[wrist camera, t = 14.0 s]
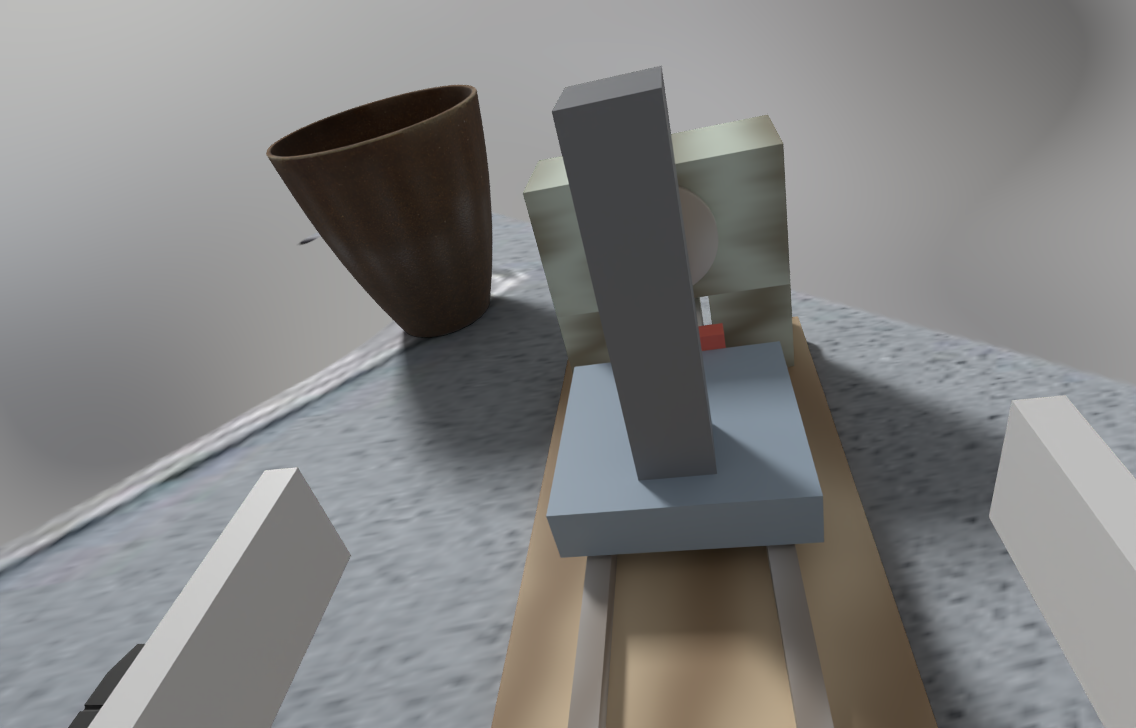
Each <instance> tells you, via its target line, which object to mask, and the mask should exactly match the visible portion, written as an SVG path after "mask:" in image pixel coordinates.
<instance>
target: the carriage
mask: <svg viewBox="0 0 1136 728" xmlns="http://www.w3.org/2000/svg"><path fill="white" fill-rule="evenodd" d="M552 114H553V118H554V122H555V127H556V131H557V136H558V140H559V144H560V148H561V153H562V157H563V161H564V165H565V170H566V174H567V178H568V183H569V187H570V191H571V195H572V200H573V204H574V208H575V212H576V217H577V221H578V225H579V230H580V234H581V238H582V242H583V247H584V251H585V255H586V259H587V264H588V268H589V272H590V276H591V281H592V285H593V289H594V294H595V298H596V302H597V306H598V311H599V315H600V319H601V323H602V328H603V332H604V336H605V341H606V345H607V349H608V353H609V358H610V363H602V364H594V365H586V366H578V367H574V372H573V378H572V383H571V388H570V393H569V399H568V404H567V409H566V414H565V420H564V425H563V430H562V435H561V441H560V446H559V451H558V456H557V462H556V467H555V472H554V477H553V483H552V488H551V493H550V498H549V504H548V509H547V514H546V517H547V520H548V523H549V526H550V529H551V532H552V534H553V537H554V540H555V543H556V546H557V549H558V551H559V554H560V557H561V558H564V557H581V556H599V555H616V554H633V553H650V552H667V551H684V550H701V549H718V548H735V547H752V546H769V545H786V544H803V543H820V542H824V517H823V494H822V491H821V487H820V483H819V480H818V476H817V473H816V469H815V465H814V462H813V458H812V455H811V451H810V448H809V444H808V440H807V437H806V433H805V430H804V426H803V422H802V419H801V415H800V412H799V408H798V405H797V401H796V397H795V394H794V390H793V387H792V383H791V379H790V376H789V372H788V369H787V365H786V361H785V358H784V354H783V351H782V347H781V344H780V341H777V342H769V343H761V344H753V345H745V346H737V347H729V348H721V349H713V350H706V351H702V349H701V342H700V335H699V328H698V321H697V314H696V307H695V300H694V293H693V285H692V278H691V271H690V264H689V257H688V250H687V243H686V236H685V229H684V222H683V215H682V208H681V201H680V194H679V186H678V179H677V172H676V165H675V158H674V151H673V144H672V137H671V130H670V123H669V116H668V109H667V102H666V96H665V87H664V80H663V74H662V67H661V66H659V67H654V68H650V69H645V70H641V71H636V72H632V73H628V74H623V75H618V76H614V77H610V78H605V79H601V80H596V81H592V82H587V83H583V84H578V85H574V86H569V87H566V88H564V90H563V92H562V94H561V96H560V98H559V100H558V101H557V103H556V105H555V107H554V108H553V110H552Z"/></svg>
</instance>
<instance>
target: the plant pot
mask: <svg viewBox="0 0 1136 728" xmlns="http://www.w3.org/2000/svg"><path fill="white" fill-rule="evenodd" d="M266 154H267V156H268V158H269V160H270V161H271V163H272V164H273V166H274V167H275V169H276V171H277V172H278V174H279V175H280V177H281V178H282V180H283V181H284V183H285V184H286V186H287V187H288V189H289V190H290V192H291V193H292V195H293V196H294V198H295V199H296V201H297V202H298V204H299V205H300V207H301V208H302V210H303V211H304V213H305V214H306V216H307V217H308V219H309V220H310V221H311V223H312V224H313V225H314V227H315V228H316V230H317V231H318V233H319V234H320V235H321V237H322V238H323V239H324V240H325V242H326V243H327V244H328V246H329V247H330V248H331V249H332V251H333V252H334V253H335V255H336V256H337V257H338V259H339V260H340V261H341V262H342V264H343V265H344V266H345V267H346V268H347V270H348V271H349V272H350V273H351V274H352V276H353V277H354V278H355V279H356V280H357V282H358V283H359V284H360V285H361V286H362V287H363V288H364V289H365V291H367V293H368V294H369V295H370V296H371V297H372V298H373V299H374V300H375V302H376V303H377V304H378V305H379V306H380V307H381V308H382V309H383V310H384V311H385V312H386V313H387V314H388V315H389V316H390V317H391V318H392V319H393V320H394V321H395V322H396V323H397V324H398V325H399V326H400V327H401V328H402V329H403V330H404V331H405V332H407V333H408V334H410V335H412V336H416V337H436V336H442V335H446V334H449V333H452V332H455V331H457V330H460V329H462V328H464V327H466V326H468V325H469V324H471V323H473V322H474V321H476V320H477V319H478V318H480V317H481V316H482V315H483V314H484V312H485V311H486V310H487V308H488V306H489V303H490V291H491V277H492V213H491V198H490V183H489V171H488V163H487V154H486V146H485V139H484V132H483V126H482V119H481V114H480V108H479V101H478V95H477V90H476V89H475V88H474V87H472V86H469V85H449V86H440V87H434V88H428V89H423V90H418V91H414V92H409V93H405V94H401V95H397V96H393V97H390V98H386V99H382V100H379V101H375V102H372V103H368V104H365V105H362V106H359V107H355V108H352V109H350V110H347V111H344V112H341V113H338V114H335V115H332V116H330V117H327V118H324V119H322V120H319V121H317V122H314V123H312V124H310V125H307V126H306V127H303V128H301V129H299V130H297V131H295V132H293V133H290V134H289V135H287V136H285V137H283V138H281V139H280V140H278V141H277V142H275V143H274V144H273V145H271V146H270V147H269V148H268V150H267V153H266Z"/></svg>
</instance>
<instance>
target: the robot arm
mask: <svg viewBox="0 0 1136 728" xmlns="http://www.w3.org/2000/svg"><path fill="white" fill-rule="evenodd" d="M989 518H990V520H991V522H992V523H993V525H994V527H995V529H996V531H997V532H998V534H999V536H1000V538H1001V540H1002V542H1003V543H1004V545H1005V547H1006V549H1007V551H1008V553H1009V554H1010V556H1011V558H1012V560H1013V562H1014V563H1015V565H1016V567H1017V569H1018V571H1019V573H1020V574H1021V576H1022V578H1023V580H1024V582H1025V583H1026V585H1027V587H1028V589H1029V591H1030V593H1031V594H1032V596H1033V598H1034V600H1035V602H1036V604H1037V605H1038V607H1039V609H1040V611H1041V613H1042V614H1043V616H1044V618H1045V620H1046V622H1047V624H1048V625H1049V627H1050V629H1051V631H1052V633H1053V634H1054V636H1055V638H1056V640H1057V642H1058V644H1059V645H1060V647H1061V649H1062V651H1063V653H1064V655H1065V656H1066V658H1067V660H1068V662H1069V664H1070V665H1071V667H1072V669H1073V671H1074V673H1075V675H1076V676H1077V678H1078V680H1079V682H1080V684H1081V685H1082V687H1083V689H1084V691H1085V693H1086V695H1087V696H1088V698H1089V700H1090V702H1091V704H1092V706H1093V707H1094V709H1095V711H1096V713H1097V715H1098V716H1099V718H1100V720H1101V722H1102V724H1103V726H1104V727H1105V728H1136V479H1135V478H1134V476H1133V475H1132V474H1131V473H1130V472H1129V470H1128V469H1127V468H1126V467H1125V466H1124V465H1123V463H1122V462H1121V461H1120V460H1119V459H1118V457H1117V456H1116V455H1115V454H1114V453H1113V451H1112V450H1111V449H1110V448H1109V447H1108V446H1107V444H1106V443H1105V442H1104V441H1103V440H1102V438H1101V437H1100V436H1099V435H1098V434H1097V432H1096V431H1095V430H1094V429H1093V428H1092V427H1091V425H1090V424H1089V423H1088V422H1087V421H1086V419H1085V418H1084V417H1083V416H1082V415H1081V413H1080V412H1079V411H1078V410H1077V409H1076V408H1075V406H1074V405H1073V404H1072V403H1071V402H1070V400H1069V399H1068V398H1067V397H1066V396H1065V395H1064V396H1054V397H1043V398H1032V399H1022V400H1012V403H1011V408H1010V413H1009V418H1008V423H1007V428H1006V433H1005V438H1004V443H1003V448H1002V453H1001V458H1000V463H999V468H998V473H997V478H996V483H995V488H994V493H993V498H992V503H991V508H990V513H989ZM350 556H351V555H350V553H349V551H348V550H347V548H346V546H345V545H344V543H343V541H342V540H341V538H340V536H339V535H338V533H337V531H336V530H335V528H334V526H333V525H332V523H331V522H330V520H329V518H328V517H327V515H326V513H325V512H324V510H323V508H322V507H321V505H320V503H319V502H318V500H317V498H316V497H315V495H314V493H313V492H312V490H311V488H310V487H309V485H308V484H307V482H306V480H305V479H304V477H303V475H302V474H301V472H300V470H299V469H298V467H297V468H286V469H276V470H265V471H264V473H263V474H262V476H261V477H260V479H259V480H258V481H257V483H256V484H255V486H254V487H253V489H252V490H251V492H250V493H249V495H248V496H247V497H246V499H245V500H244V502H243V503H242V505H241V506H240V508H239V509H238V510H237V512H236V513H235V515H234V516H233V518H232V519H231V521H230V522H229V524H228V525H227V526H226V528H225V529H224V531H223V532H222V534H221V535H220V537H219V538H218V539H217V541H216V542H215V544H214V545H213V547H212V548H211V550H210V551H209V553H208V554H207V555H206V557H205V558H204V560H203V561H202V563H201V564H200V566H199V567H198V568H197V570H196V571H195V573H194V574H193V576H192V577H191V579H190V580H189V582H188V583H187V584H186V586H185V587H184V589H183V590H182V592H181V593H180V595H179V596H178V598H177V599H176V600H175V602H174V603H173V605H172V606H171V608H170V609H169V611H168V612H167V613H166V615H165V616H164V618H163V619H162V621H161V622H160V624H159V625H158V627H157V628H156V629H155V631H154V632H153V634H152V635H151V637H150V638H149V640H148V641H147V642H146V644H137V645H136V646H135V647H134V648H133V649H132V650H131V651H130V652H129V653H128V654H127V655H125V656H124V657H123V658H122V659H121V660H120V661H119V662H118V663H117V664H116V665H115V666H114V667H113V668H112V669H111V670H110V671H109V672H108V673H107V674H106V675H105V677H104V678H103V680H102V681H101V682H100V684H99V685H98V687H97V688H96V689H95V691H94V692H93V694H92V695H91V696H90V698H89V699H88V701H87V702H86V703H85V709H84V710H83V711H80V712H79V713H78V715H77V716H76V718H75V719H74V720H73V722H72V723H71V725H70V726H69V727H68V728H271V726H272V723H273V721H274V719H275V717H276V715H277V713H278V711H279V708H280V706H281V704H282V702H283V700H284V698H285V696H286V693H287V691H288V689H289V687H290V685H291V683H292V681H293V679H294V676H295V674H296V672H297V670H298V668H299V666H300V664H301V661H302V659H303V657H304V655H305V653H306V651H307V649H308V646H309V644H310V642H311V640H312V638H313V636H314V634H315V631H316V629H317V627H318V625H319V623H320V621H321V619H322V616H323V614H324V612H325V610H326V608H327V606H328V604H329V601H330V599H331V597H332V595H333V593H334V591H335V589H336V586H337V584H338V582H339V580H340V578H341V576H342V574H343V571H344V569H345V567H346V565H347V563H348V561H349V559H350Z"/></svg>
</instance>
